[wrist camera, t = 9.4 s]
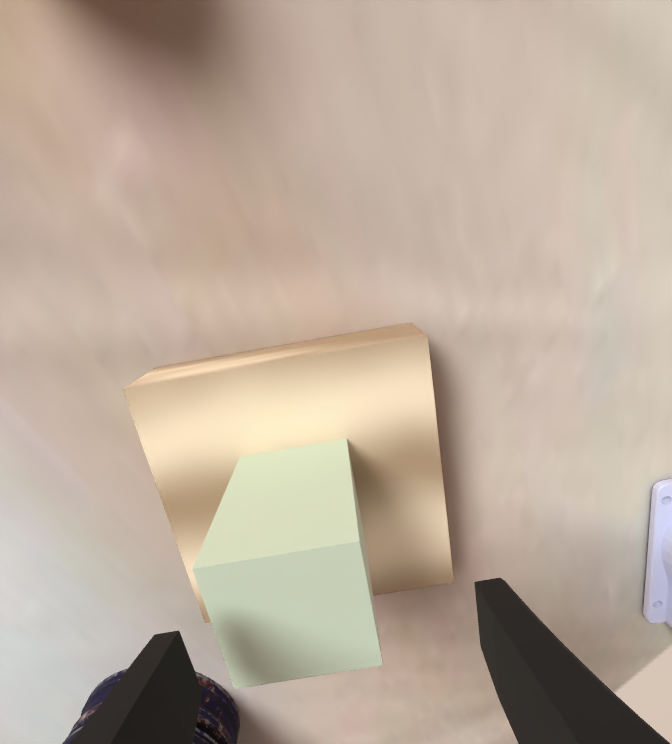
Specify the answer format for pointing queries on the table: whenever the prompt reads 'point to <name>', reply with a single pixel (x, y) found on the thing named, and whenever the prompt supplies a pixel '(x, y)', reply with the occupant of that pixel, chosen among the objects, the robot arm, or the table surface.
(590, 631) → the table surface
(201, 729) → the storage jar
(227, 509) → the sage block
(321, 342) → the birch plinth
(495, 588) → the robot arm
